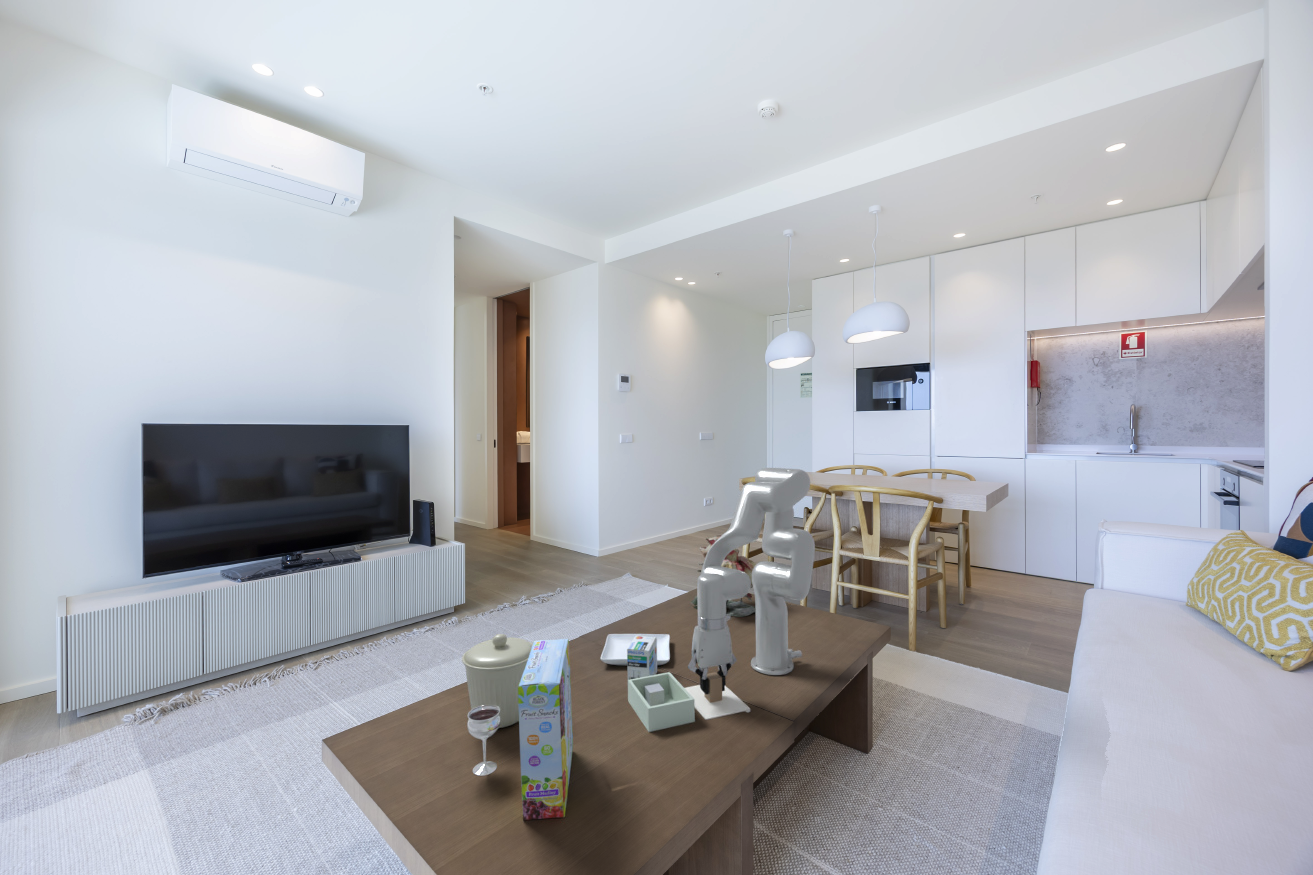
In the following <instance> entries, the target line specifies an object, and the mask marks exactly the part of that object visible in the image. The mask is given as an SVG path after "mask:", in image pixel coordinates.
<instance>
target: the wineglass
mask: <svg viewBox="0 0 1313 875" xmlns="http://www.w3.org/2000/svg"><path fill="white" fill-rule="evenodd" d="M499 712H500V709H499V707H497V706H495V705H483V706H479V707H476V708H474V709H472V710H471V709H470V710H469V711H468V713H467V718H468V720H467V724H466V725H467V731H468V732H469V734H470V735H471V736H472V737H474V738H475V739H477V740H478V739H479V740H481V741H482V753H483V754H482V755H483V761H481V762H479V763H478V764H476V765H475V766H474V767H473V768H472V773H473V774H474V775H476V776H481V777H484V776H488V775H490V774H492V773H494V772H495V771H496V769H497V768H498V766H497V763H496V762H494V761H490V760H488V761H487V739H488V738H490V737H492V736H493V735H494V734H495V733H496V732H497V731H498V729H500V728H499V725H500V720H501V719H500V716H499Z"/></svg>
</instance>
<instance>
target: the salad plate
mask: <svg viewBox="0 0 1313 875" xmlns="http://www.w3.org/2000/svg"><path fill="white" fill-rule="evenodd" d="M635 636H646V637H656V638H657V666H662V665H665V664H667V663H669V662H670V658H671V653H670V640H671V636H670V634H666V633H659V634H658V633H657V634H655V633H610V634H607V636H606V640H605V644H604V647H603V649H602V652H601V655H600V661H601V662H603V663H605V664H607V665H615V666H627V649H628V647H629V645H630V644H631V642H632V641H633V639H634V638H635Z"/></svg>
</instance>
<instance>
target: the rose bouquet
mask: <svg viewBox="0 0 1313 875" xmlns="http://www.w3.org/2000/svg"><path fill="white" fill-rule="evenodd" d="M722 535H723V534H717V535H715V536H714V537H708V538H705V540H706V541H707V543H708V545H707V547H706V546H703V547H702V546H699V550H700V552H701V554H702V556H703V558H705V557H706V555H707V552H708V550H709V549H710V547H711V546H712V545H713V544H714V543H715V542H716V541H717V540H718V538H720V537H721V536H722ZM739 553H740V550H739V549H738V548H736V549H734V550H732V551H731V552H730V553H729V554H728V555H727V556H726V557H725V559H724V560H723V563H722V565H721V566H722V567H727V568H731V569H735V570H740V571H743V572H745V573H746V574H747V575H748V576H749V577H750V580H751V588H750V589H752V588H753V584H752V570H753V568H754V566H755V565H756V564H757V563H756V562H755V561H753V560H751V559H750V558H749V557H746V556H744V555H740V556H739ZM703 564H704V562H701V563H699V566H703ZM701 570H702V569H698V570H697V572H698V573H701ZM744 597H746V598H747V600H748V601H749V602H753V600H752V597H753V595H752V594H751V593H750V592H748V594H747V595H745V596H744ZM690 603H691V604H692V603H693V604H694V605H693V608H694V609H696V610H697V611H698V599H697V595H695V596H694V598H693V599H692V601H690ZM696 605H697V606H696ZM726 609H728V611H726V614H727V615H730V617H737V618H738V617H739V618H742V617H746V616H750V615H752V614H753V613H756V610H755V605H751V604H749V603H745V602H744V601H743V597H742V598H740V600H737V601H735V600H727V601H726Z"/></svg>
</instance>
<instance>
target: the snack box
mask: <svg viewBox="0 0 1313 875" xmlns="http://www.w3.org/2000/svg"><path fill="white" fill-rule="evenodd" d="M569 641H570V639H569V638H559V639H540V640H533V642H532V643H533V645H532V648H531V652H530V655H529V658H528V661H527V664H526V667H525V669H524V672H523V675H522V678H521V681H520V683H519V686H518V707H519V721H518V726H519V727H518V729H519V730H518V731H519V757H520V759H519V760H520V782H521V784H520V785H521V808H522V809H521V811H522V812H521V813H522V820H523V821H530V820H542V819H552V818H553V819H555V818H565V817H566V809H567V802H568V793H569V784H570V776H571V767H572V760H573V759H572V758H573V750H574V735H573V710H572V709H573V708H572V690H571V687H572V686H571V666H570V665H571V662H570V661H571V660H570V642H569Z"/></svg>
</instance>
